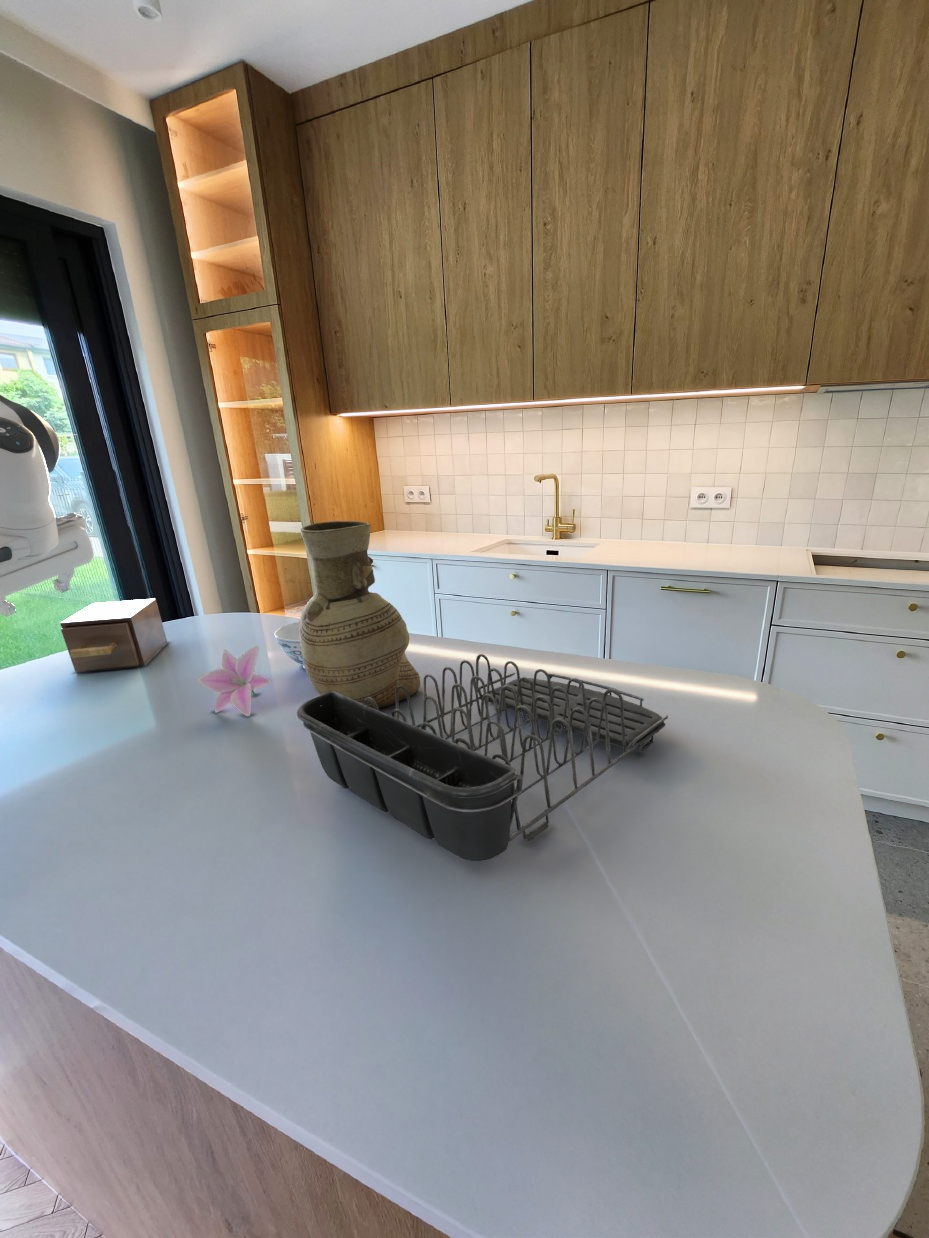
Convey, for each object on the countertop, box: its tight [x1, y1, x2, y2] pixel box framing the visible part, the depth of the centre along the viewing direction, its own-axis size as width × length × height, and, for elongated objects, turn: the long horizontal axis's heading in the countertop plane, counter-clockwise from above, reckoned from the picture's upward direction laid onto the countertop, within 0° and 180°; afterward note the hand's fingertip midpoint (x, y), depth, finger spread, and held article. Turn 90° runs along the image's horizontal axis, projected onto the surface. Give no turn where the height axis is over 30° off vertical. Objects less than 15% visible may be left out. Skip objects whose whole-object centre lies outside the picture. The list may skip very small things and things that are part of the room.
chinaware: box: [274, 620, 306, 670], centre depth 118 cm, size 15×15×8 cm
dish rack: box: [296, 653, 669, 862], centre depth 79 cm, size 34×44×12 cm
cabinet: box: [59, 598, 168, 674], centre depth 125 cm, size 16×13×11 cm
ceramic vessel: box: [299, 520, 421, 709], centre depth 98 cm, size 19×21×30 cm
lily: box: [197, 645, 272, 717], centre depth 101 cm, size 12×12×10 cm
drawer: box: [60, 621, 140, 672], centre depth 121 cm, size 19×11×9 cm, turn 13°
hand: (36, 600), depth 98 cm, fingers open, 8 cm apart
